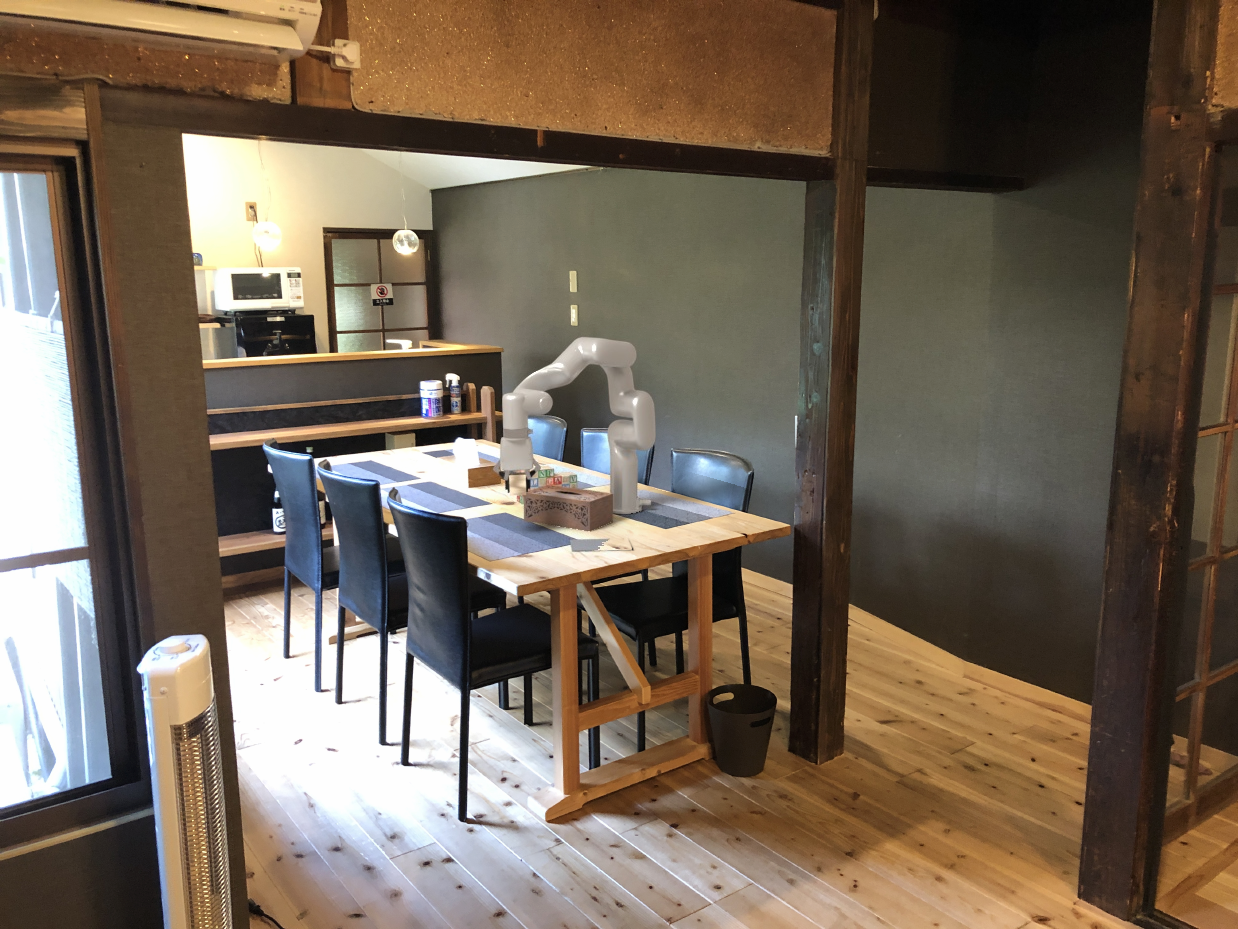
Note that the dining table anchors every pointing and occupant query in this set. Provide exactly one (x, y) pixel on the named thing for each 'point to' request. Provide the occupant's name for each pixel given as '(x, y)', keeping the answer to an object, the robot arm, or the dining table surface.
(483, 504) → the dining table surface
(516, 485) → the maple block
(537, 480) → the stack of blocks
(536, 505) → the tissue box cover
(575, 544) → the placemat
